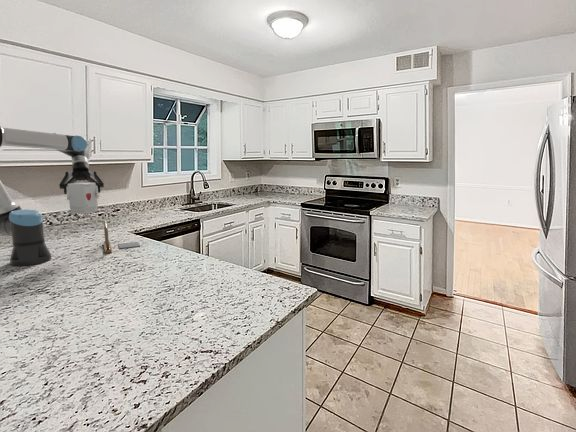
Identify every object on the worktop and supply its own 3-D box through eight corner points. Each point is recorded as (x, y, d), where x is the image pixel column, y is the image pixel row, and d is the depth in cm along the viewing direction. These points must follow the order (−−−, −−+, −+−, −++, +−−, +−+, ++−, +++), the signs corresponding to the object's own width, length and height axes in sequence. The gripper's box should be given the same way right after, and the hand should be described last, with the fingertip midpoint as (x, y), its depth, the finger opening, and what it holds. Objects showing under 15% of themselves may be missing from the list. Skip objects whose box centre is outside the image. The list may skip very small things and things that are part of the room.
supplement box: (86, 214, 166) (83, 183, 163) (70, 213, 167) (66, 183, 165) (99, 211, 175) (96, 182, 172) (83, 211, 176) (80, 182, 173)
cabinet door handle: (105, 253, 169) (102, 224, 167) (103, 244, 188) (101, 218, 185) (111, 252, 170) (109, 224, 168) (109, 243, 189) (107, 217, 187)
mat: (119, 249, 178) (119, 247, 177) (118, 244, 186) (118, 243, 186) (140, 246, 183) (140, 245, 182) (138, 242, 191) (137, 241, 191)
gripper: (106, 170, 188) (110, 200, 177) (54, 171, 175) (54, 203, 165) (106, 161, 182) (110, 191, 172) (51, 161, 170) (52, 194, 160)
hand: (83, 197), depth 168 cm, fingers closed on supplement box, 12 cm apart
